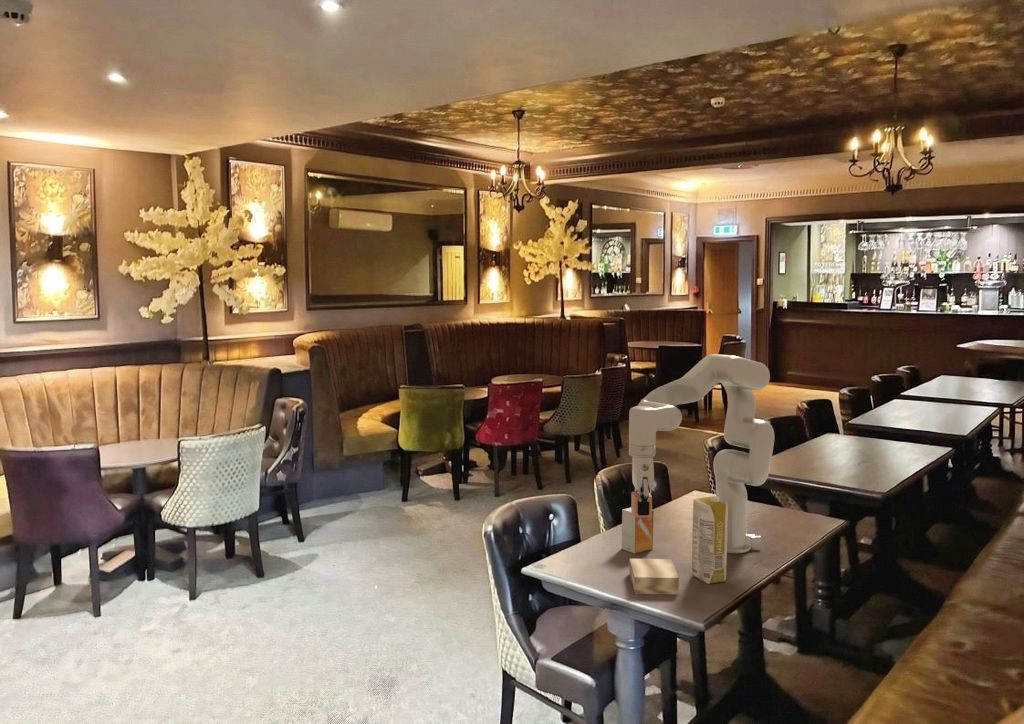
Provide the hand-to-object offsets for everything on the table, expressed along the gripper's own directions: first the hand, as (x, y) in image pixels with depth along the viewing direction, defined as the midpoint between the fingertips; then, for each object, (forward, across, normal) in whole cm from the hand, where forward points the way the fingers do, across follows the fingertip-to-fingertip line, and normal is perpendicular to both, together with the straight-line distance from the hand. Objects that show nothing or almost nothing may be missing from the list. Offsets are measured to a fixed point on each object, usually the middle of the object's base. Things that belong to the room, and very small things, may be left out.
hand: (641, 511), depth 218 cm
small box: (+20, +23, -3) cm, 30 cm away
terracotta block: (+1, 0, 0) cm, 1 cm away
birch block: (+20, -5, -2) cm, 21 cm away
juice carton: (+20, -2, -19) cm, 28 cm away
